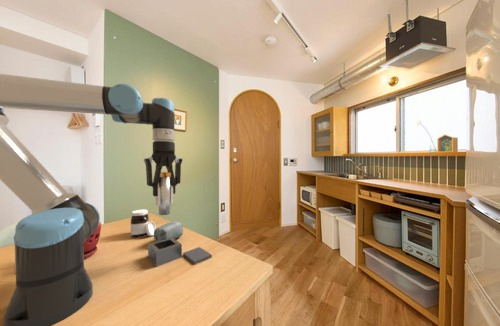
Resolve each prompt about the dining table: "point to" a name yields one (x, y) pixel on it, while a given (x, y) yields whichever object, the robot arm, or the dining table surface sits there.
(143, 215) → the spread jar
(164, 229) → the spool
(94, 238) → the plant pot
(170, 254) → the block
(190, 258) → the rest mat
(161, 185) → the chuck key
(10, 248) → the dining table surface
